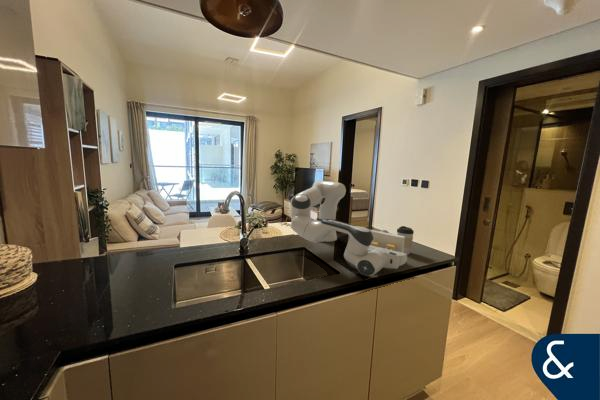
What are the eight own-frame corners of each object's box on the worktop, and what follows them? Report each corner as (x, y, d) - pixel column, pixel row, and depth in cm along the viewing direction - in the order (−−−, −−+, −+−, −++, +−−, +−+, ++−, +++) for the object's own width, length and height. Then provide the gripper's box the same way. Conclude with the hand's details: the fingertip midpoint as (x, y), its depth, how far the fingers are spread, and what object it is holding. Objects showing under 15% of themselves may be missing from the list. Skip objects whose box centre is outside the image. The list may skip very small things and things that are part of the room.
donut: (386, 243, 160) (387, 228, 159) (390, 244, 157) (391, 229, 156) (375, 245, 155) (376, 230, 154) (379, 247, 152) (380, 231, 151)
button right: (385, 252, 128) (386, 245, 127) (390, 248, 133) (390, 241, 133) (393, 254, 125) (393, 246, 125) (397, 250, 131) (398, 243, 130)
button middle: (368, 249, 131) (369, 242, 130) (374, 246, 136) (374, 239, 136) (376, 251, 128) (376, 244, 128) (381, 248, 134) (381, 241, 133)
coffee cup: (414, 255, 139) (417, 229, 137) (398, 255, 139) (400, 229, 137) (407, 250, 148) (410, 225, 146) (392, 249, 148) (394, 225, 146)
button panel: (352, 251, 144) (354, 228, 141) (356, 249, 147) (358, 226, 145) (402, 264, 126) (404, 238, 124) (405, 261, 130) (407, 236, 128)
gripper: (358, 258, 122) (370, 250, 133) (401, 269, 110) (409, 260, 120) (359, 245, 121) (370, 239, 132) (402, 256, 109) (411, 248, 119)
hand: (389, 249), depth 126 cm, fingers closed, pressing on button right
